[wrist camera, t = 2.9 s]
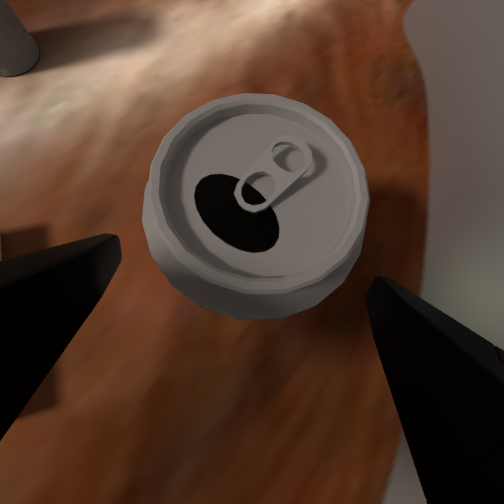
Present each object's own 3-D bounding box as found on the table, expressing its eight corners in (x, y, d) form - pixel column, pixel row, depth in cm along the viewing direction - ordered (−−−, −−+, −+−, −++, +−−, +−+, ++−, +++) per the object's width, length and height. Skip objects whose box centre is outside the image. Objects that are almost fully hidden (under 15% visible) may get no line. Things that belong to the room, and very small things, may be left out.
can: (169, 266, 18) (56, 174, 7) (243, 198, 20) (257, 30, 8) (246, 344, 17) (270, 394, 6) (317, 265, 19) (447, 181, 7)
